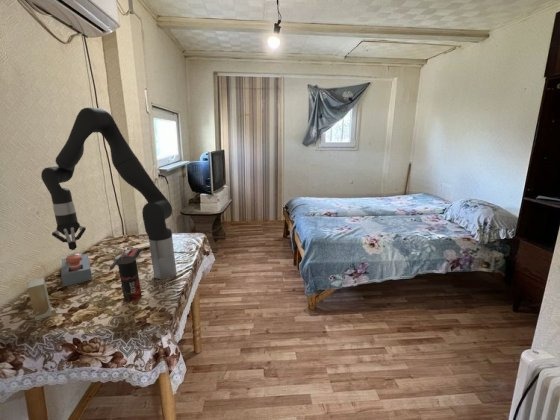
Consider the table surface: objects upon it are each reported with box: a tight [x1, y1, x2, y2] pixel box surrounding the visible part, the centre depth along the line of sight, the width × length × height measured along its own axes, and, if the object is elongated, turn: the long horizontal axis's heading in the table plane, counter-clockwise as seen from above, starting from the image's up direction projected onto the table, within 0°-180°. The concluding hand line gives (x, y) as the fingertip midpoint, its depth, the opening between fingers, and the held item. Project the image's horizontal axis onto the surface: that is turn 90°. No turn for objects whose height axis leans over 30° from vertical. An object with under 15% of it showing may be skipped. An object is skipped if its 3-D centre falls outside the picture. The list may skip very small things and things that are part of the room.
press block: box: [60, 253, 93, 287], centre depth 130 cm, size 20×10×5 cm, turn 35°
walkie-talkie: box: [109, 247, 140, 269], centre depth 144 cm, size 9×4×20 cm
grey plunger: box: [66, 252, 83, 258], centre depth 134 cm, size 6×6×6 cm
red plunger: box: [65, 255, 82, 271], centre depth 124 cm, size 6×6×6 cm
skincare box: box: [27, 277, 52, 321], centre depth 100 cm, size 6×4×12 cm
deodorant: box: [117, 257, 142, 303], centre depth 109 cm, size 6×6×15 cm
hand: (73, 249), depth 132 cm, fingers closed
